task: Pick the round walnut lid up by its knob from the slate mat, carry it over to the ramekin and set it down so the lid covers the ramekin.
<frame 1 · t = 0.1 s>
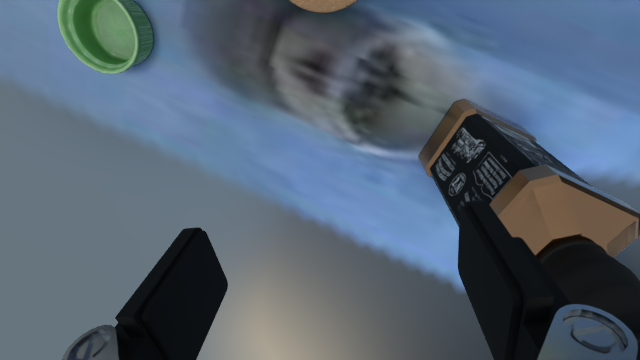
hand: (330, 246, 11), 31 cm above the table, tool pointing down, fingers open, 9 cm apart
ramekin: (124, 29, 38), on the table
whiskey bottle: (468, 145, 41), on the table
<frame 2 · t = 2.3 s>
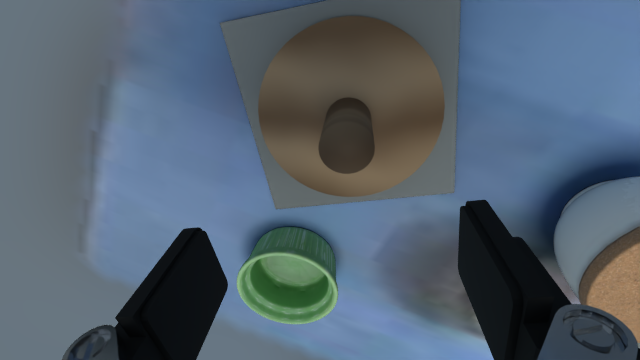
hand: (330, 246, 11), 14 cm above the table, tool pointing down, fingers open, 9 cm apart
slate mat: (348, 114, 23), on the table
walnut lid: (348, 116, 23), resting on slate mat
ramekin: (295, 255, 31), on the table
lidded jar: (600, 211, 25), on the table
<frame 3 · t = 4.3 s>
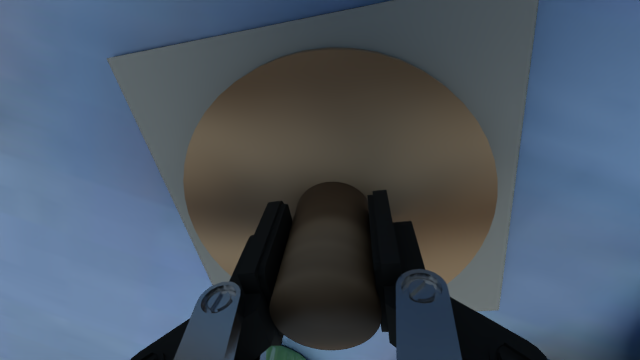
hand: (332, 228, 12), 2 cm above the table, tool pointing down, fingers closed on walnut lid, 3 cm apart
slate mat: (334, 199, 14), on the table
walnut lid: (334, 204, 14), resting on slate mat, touching gripper
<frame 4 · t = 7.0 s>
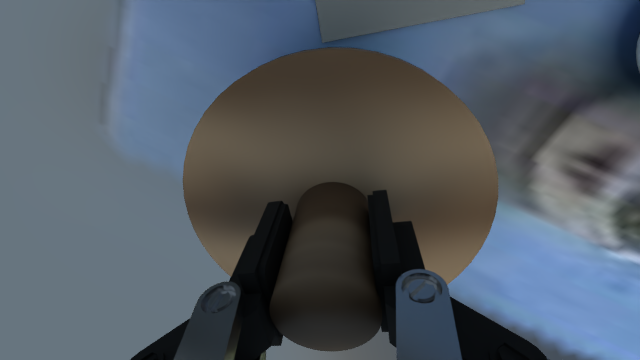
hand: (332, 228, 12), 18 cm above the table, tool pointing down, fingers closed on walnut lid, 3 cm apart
walnut lid: (334, 204, 14), point 16 cm above the table, touching gripper
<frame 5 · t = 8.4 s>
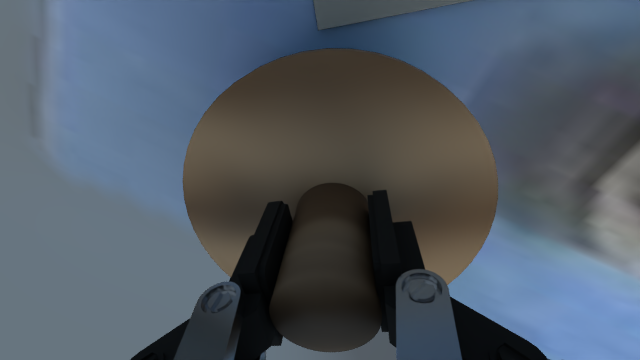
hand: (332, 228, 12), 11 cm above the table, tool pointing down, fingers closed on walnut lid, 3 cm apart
walnut lid: (334, 205, 14), point 9 cm above the table, touching gripper
when the fingers open (7 cm above the table, at t = 9.7 s): walnut lid drops 1 cm, resting on ramekin.
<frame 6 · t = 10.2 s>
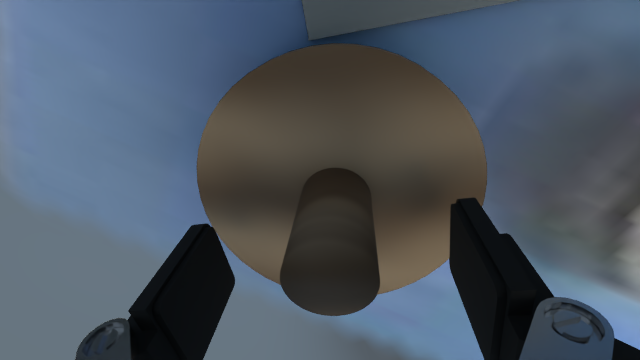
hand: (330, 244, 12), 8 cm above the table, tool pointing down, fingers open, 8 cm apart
walnut lid: (336, 189, 15), point 4 cm above the table, touching ramekin
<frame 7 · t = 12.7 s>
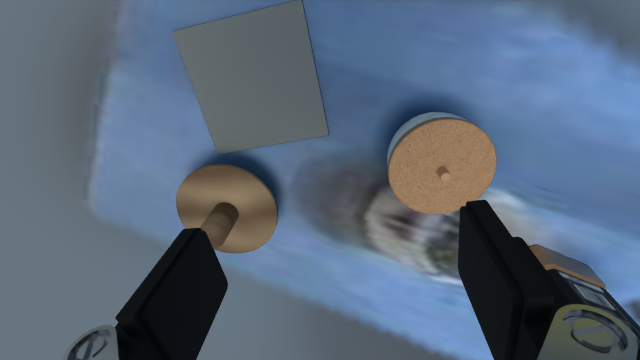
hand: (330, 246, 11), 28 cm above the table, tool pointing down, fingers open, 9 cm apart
slate mat: (255, 85, 37), on the table
walnut lid: (228, 209, 40), point 4 cm above the table, touching ramekin
whiskey bottle: (537, 277, 46), on the table
lidded jar: (424, 144, 39), on the table
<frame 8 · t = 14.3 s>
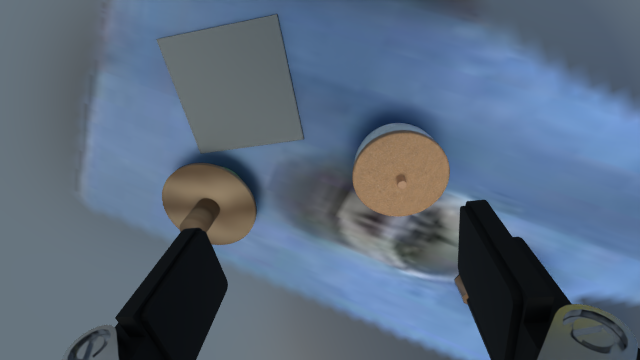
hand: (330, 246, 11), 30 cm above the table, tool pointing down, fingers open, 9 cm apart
slate mat: (235, 91, 40), on the table
walnut lid: (210, 204, 43), point 4 cm above the table, touching ramekin
whiskey bottle: (496, 273, 50), on the table
lidded jar: (392, 150, 42), on the table
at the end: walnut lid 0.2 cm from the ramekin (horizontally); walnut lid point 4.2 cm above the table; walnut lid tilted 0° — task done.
